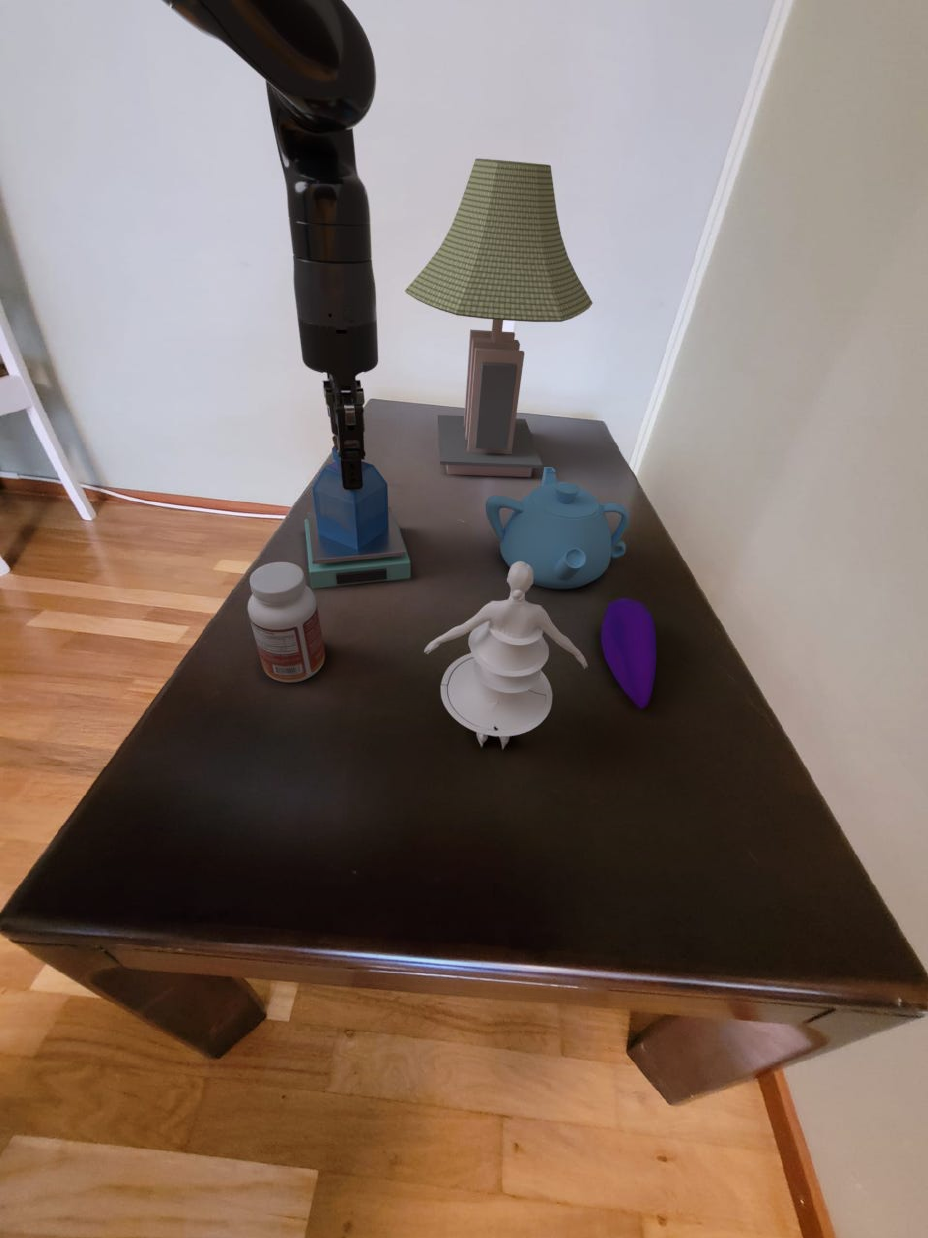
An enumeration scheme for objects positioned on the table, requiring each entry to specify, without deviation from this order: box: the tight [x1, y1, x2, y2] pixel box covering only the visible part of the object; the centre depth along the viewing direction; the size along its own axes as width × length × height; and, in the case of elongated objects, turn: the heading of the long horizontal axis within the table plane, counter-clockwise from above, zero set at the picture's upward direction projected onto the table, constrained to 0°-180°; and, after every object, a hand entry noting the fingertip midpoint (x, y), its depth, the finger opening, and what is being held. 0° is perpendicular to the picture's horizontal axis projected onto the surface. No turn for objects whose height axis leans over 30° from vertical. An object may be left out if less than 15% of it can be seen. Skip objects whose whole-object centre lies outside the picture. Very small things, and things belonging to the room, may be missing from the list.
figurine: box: [423, 561, 588, 750], centre depth 44 cm, size 13×10×20 cm
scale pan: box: [306, 506, 406, 564], centre depth 68 cm, size 11×11×1 cm
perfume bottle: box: [312, 435, 389, 550], centre depth 64 cm, size 6×6×12 cm
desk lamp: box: [404, 158, 594, 478], centre depth 83 cm, size 26×28×40 cm
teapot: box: [485, 466, 630, 590], centre depth 68 cm, size 15×17×11 cm
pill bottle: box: [247, 561, 326, 684], centre depth 52 cm, size 6×6×11 cm
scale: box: [304, 512, 411, 590], centre depth 69 cm, size 12×12×3 cm
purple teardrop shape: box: [600, 597, 657, 710], centre depth 57 cm, size 5×5×15 cm
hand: (349, 474), depth 63 cm, fingers open, 6 cm apart
